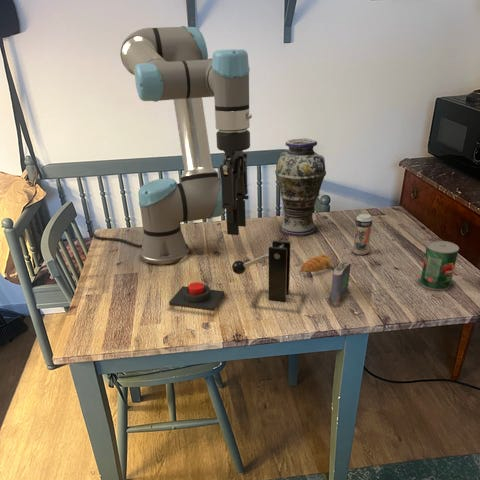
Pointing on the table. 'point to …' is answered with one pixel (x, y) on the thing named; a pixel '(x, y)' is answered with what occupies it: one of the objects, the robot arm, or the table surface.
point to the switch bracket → (279, 271)
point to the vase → (299, 185)
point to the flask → (340, 280)
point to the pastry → (317, 263)
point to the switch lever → (249, 263)
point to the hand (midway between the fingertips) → (236, 229)
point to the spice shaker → (362, 234)
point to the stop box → (197, 299)
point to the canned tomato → (439, 265)
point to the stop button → (196, 288)
